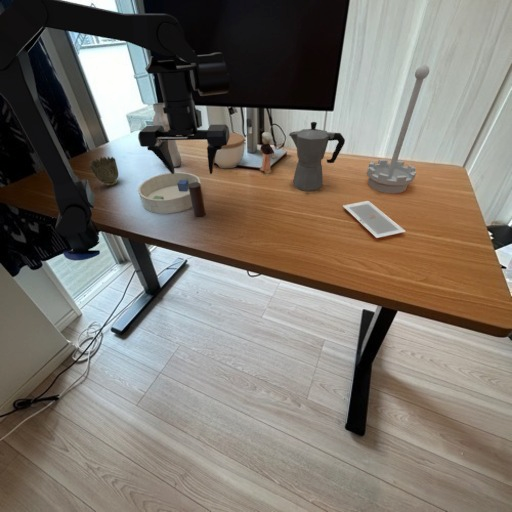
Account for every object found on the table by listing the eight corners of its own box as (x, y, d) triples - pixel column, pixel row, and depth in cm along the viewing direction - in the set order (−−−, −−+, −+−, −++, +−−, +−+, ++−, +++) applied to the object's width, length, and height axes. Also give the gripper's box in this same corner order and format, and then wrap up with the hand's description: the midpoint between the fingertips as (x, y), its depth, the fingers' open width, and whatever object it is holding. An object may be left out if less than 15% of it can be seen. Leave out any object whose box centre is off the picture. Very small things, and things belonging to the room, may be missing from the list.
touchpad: (367, 204, 74) (369, 197, 72) (404, 235, 63) (407, 227, 62) (341, 209, 72) (343, 201, 71) (375, 241, 61) (377, 234, 60)
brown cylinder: (204, 219, 70) (199, 187, 65) (193, 219, 71) (186, 187, 65) (206, 213, 73) (201, 182, 67) (196, 212, 73) (189, 182, 67)
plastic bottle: (162, 164, 99) (146, 103, 86) (181, 161, 101) (168, 100, 87) (164, 171, 94) (148, 107, 81) (184, 167, 96) (170, 105, 83)
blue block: (186, 191, 81) (185, 183, 80) (178, 191, 82) (177, 183, 80) (189, 187, 83) (187, 180, 81) (181, 187, 83) (180, 179, 82)
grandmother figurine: (254, 170, 93) (253, 131, 84) (262, 166, 95) (262, 128, 86) (270, 176, 89) (271, 136, 80) (278, 172, 91) (279, 133, 82)
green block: (161, 209, 74) (158, 201, 72) (153, 208, 75) (150, 200, 73) (165, 204, 76) (163, 196, 74) (157, 203, 76) (155, 195, 75)
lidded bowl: (223, 175, 90) (219, 141, 83) (204, 164, 98) (199, 132, 91) (252, 164, 96) (251, 132, 89) (232, 155, 104) (229, 124, 96)
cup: (101, 182, 89) (90, 158, 84) (124, 178, 91) (115, 154, 85) (98, 192, 84) (86, 167, 78) (123, 188, 85) (113, 163, 80)
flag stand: (412, 197, 76) (463, 69, 56) (363, 191, 79) (395, 68, 59) (408, 178, 85) (451, 61, 65) (365, 173, 88) (393, 61, 69)
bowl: (195, 215, 72) (192, 200, 69) (133, 214, 73) (127, 200, 70) (207, 185, 85) (205, 172, 82) (154, 185, 86) (150, 172, 83)
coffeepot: (283, 188, 82) (285, 125, 70) (289, 175, 89) (293, 116, 77) (334, 195, 78) (346, 129, 66) (337, 180, 85) (349, 119, 73)
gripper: (229, 89, 59) (235, 159, 69) (146, 91, 60) (164, 160, 70) (221, 101, 51) (229, 178, 61) (126, 103, 52) (149, 179, 62)
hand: (192, 173), depth 64 cm, fingers open, 9 cm apart
